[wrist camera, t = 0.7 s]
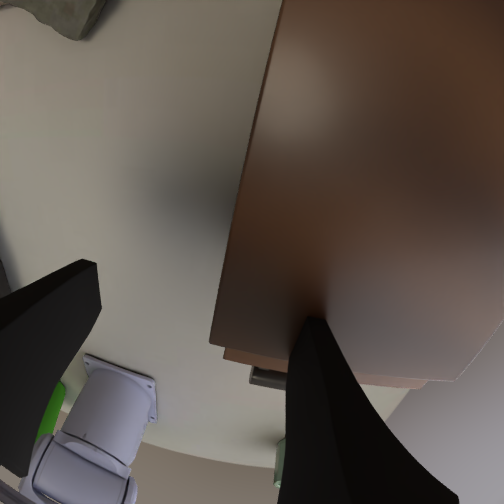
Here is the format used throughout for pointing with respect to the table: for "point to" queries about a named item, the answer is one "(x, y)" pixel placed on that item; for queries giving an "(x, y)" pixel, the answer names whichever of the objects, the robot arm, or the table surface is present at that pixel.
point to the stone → (64, 14)
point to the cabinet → (373, 187)
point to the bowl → (3, 283)
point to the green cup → (279, 463)
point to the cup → (52, 411)
